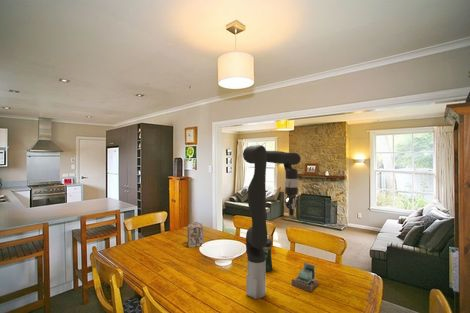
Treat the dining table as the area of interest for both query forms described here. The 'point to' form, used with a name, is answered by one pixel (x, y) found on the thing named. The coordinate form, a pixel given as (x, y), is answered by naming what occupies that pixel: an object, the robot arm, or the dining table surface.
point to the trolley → (307, 274)
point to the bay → (304, 285)
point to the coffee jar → (268, 255)
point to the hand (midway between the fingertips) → (291, 215)
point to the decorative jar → (195, 234)
